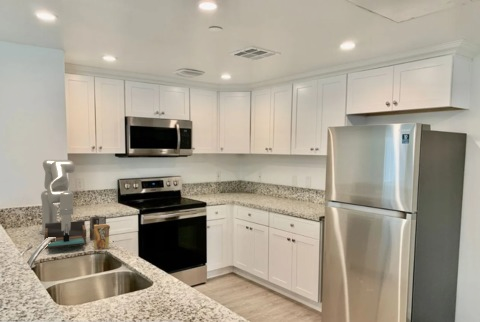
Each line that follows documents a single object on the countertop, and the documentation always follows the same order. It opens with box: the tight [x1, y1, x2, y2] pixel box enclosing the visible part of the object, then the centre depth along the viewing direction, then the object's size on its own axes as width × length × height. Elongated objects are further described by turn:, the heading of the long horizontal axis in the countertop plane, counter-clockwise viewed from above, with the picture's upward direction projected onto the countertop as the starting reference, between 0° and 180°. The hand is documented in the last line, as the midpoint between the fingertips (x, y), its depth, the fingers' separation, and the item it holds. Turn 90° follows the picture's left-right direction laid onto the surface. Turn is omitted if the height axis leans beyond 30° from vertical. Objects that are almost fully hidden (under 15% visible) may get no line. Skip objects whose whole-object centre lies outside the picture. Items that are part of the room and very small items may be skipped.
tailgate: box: [48, 238, 84, 246], centre depth 212 cm, size 1×20×14 cm
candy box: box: [93, 223, 110, 250], centre depth 216 cm, size 9×4×15 cm, turn 116°
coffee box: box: [89, 215, 107, 241], centre depth 235 cm, size 9×6×16 cm
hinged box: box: [43, 220, 87, 250], centre depth 225 cm, size 16×24×13 cm, turn 118°
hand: (66, 241), depth 210 cm, fingers closed
